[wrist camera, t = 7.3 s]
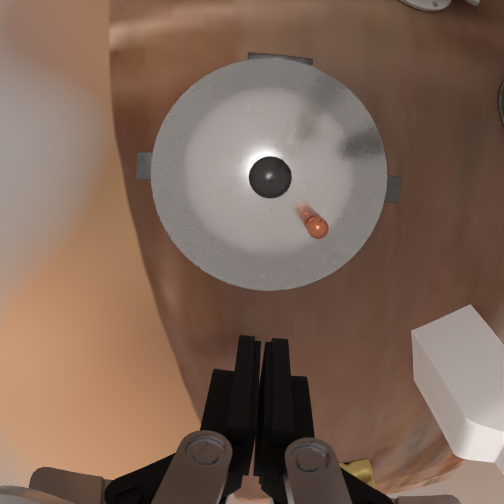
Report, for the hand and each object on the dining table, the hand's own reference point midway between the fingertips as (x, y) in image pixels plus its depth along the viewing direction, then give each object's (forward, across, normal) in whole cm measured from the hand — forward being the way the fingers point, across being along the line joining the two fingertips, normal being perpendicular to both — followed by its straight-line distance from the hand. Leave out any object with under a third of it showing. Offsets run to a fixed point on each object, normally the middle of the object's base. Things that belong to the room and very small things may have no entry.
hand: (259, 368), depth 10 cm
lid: (+16, 0, -5) cm, 17 cm away
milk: (+27, -32, +19) cm, 46 cm away
